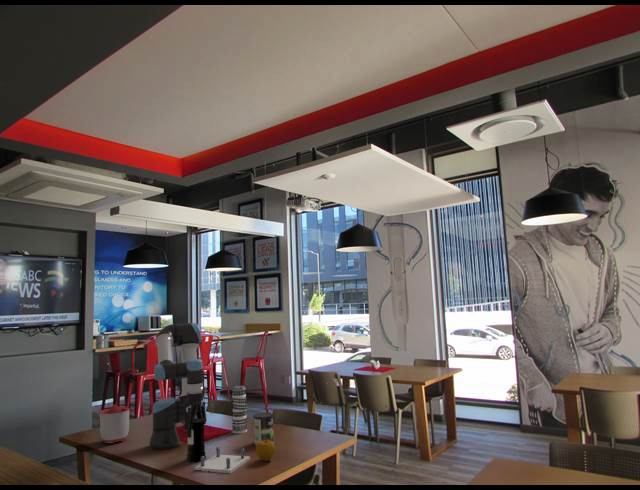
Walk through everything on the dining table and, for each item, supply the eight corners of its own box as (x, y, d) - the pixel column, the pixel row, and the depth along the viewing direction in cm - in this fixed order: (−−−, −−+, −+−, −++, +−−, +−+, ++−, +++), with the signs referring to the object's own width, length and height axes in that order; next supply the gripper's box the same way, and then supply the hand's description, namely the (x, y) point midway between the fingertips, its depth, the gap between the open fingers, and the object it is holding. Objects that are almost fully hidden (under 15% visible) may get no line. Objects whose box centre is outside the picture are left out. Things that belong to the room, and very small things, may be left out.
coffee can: (276, 439, 246) (275, 412, 248) (270, 445, 236) (269, 417, 238) (257, 439, 248) (257, 412, 250) (251, 445, 238) (250, 417, 240)
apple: (258, 465, 208) (258, 444, 209) (253, 459, 217) (252, 439, 218) (278, 461, 212) (277, 440, 213) (272, 455, 220) (271, 436, 221)
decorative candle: (228, 431, 267) (227, 387, 270) (242, 428, 273) (241, 384, 276) (237, 434, 260) (236, 388, 263) (251, 430, 266) (249, 386, 269)
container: (188, 457, 224) (187, 418, 227) (207, 455, 225) (206, 417, 227) (184, 463, 216) (183, 423, 218) (204, 461, 216) (203, 421, 219)
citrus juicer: (126, 435, 271) (126, 399, 273) (132, 441, 256) (132, 404, 259) (96, 440, 262) (96, 404, 265) (101, 447, 248) (101, 408, 250)
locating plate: (194, 470, 206) (194, 458, 206) (216, 457, 223) (216, 445, 223) (230, 473, 200) (230, 460, 201) (250, 459, 217) (249, 447, 217)
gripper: (189, 396, 213) (189, 448, 210) (213, 388, 233) (214, 435, 230) (175, 396, 216) (175, 447, 213) (200, 388, 235) (201, 435, 232)
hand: (195, 441), depth 221 cm, fingers closed on container, 8 cm apart
